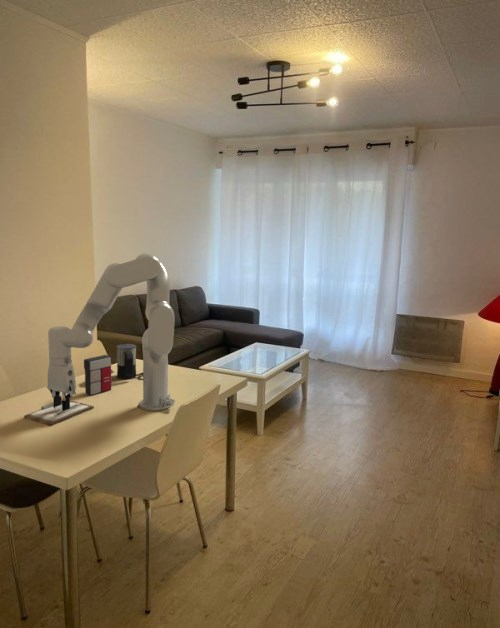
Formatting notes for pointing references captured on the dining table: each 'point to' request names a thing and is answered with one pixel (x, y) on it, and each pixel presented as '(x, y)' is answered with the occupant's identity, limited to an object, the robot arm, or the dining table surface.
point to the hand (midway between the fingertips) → (61, 408)
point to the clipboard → (48, 411)
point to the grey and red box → (97, 374)
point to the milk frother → (126, 361)
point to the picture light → (63, 410)
